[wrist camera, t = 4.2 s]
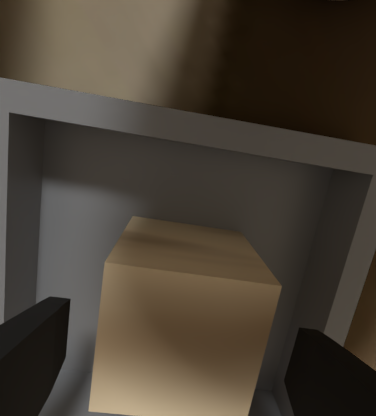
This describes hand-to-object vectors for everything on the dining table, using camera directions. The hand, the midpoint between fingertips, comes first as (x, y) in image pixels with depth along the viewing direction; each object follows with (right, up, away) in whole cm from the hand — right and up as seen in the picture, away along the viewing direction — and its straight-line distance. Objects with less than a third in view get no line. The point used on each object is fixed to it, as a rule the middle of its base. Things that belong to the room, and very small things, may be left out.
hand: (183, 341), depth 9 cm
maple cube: (0, +1, +4) cm, 5 cm away
